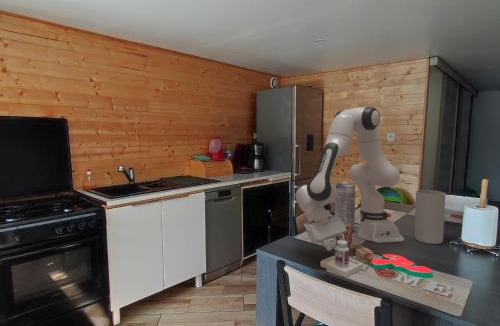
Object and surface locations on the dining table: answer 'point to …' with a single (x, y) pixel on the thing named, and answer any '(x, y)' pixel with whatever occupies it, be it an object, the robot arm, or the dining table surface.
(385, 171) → the robot arm
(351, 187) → the mottled grey cylinder
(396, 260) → the pink script letter cutout
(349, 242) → the soda can
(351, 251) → the walnut block
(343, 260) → the pill bottle
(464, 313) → the dining table surface
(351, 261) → the ceramic tray
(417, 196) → the cylinder vase
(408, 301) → the dining table surface
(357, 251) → the oak block
